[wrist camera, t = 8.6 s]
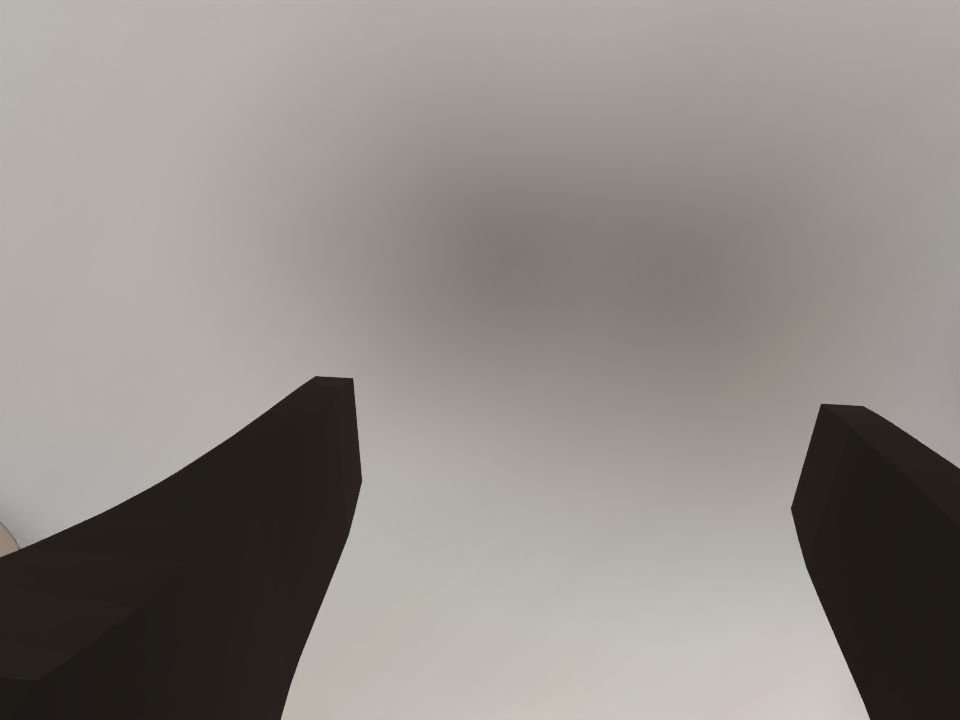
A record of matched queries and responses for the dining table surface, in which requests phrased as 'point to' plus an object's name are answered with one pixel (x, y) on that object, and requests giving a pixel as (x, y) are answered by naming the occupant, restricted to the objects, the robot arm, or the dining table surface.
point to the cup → (6, 542)
